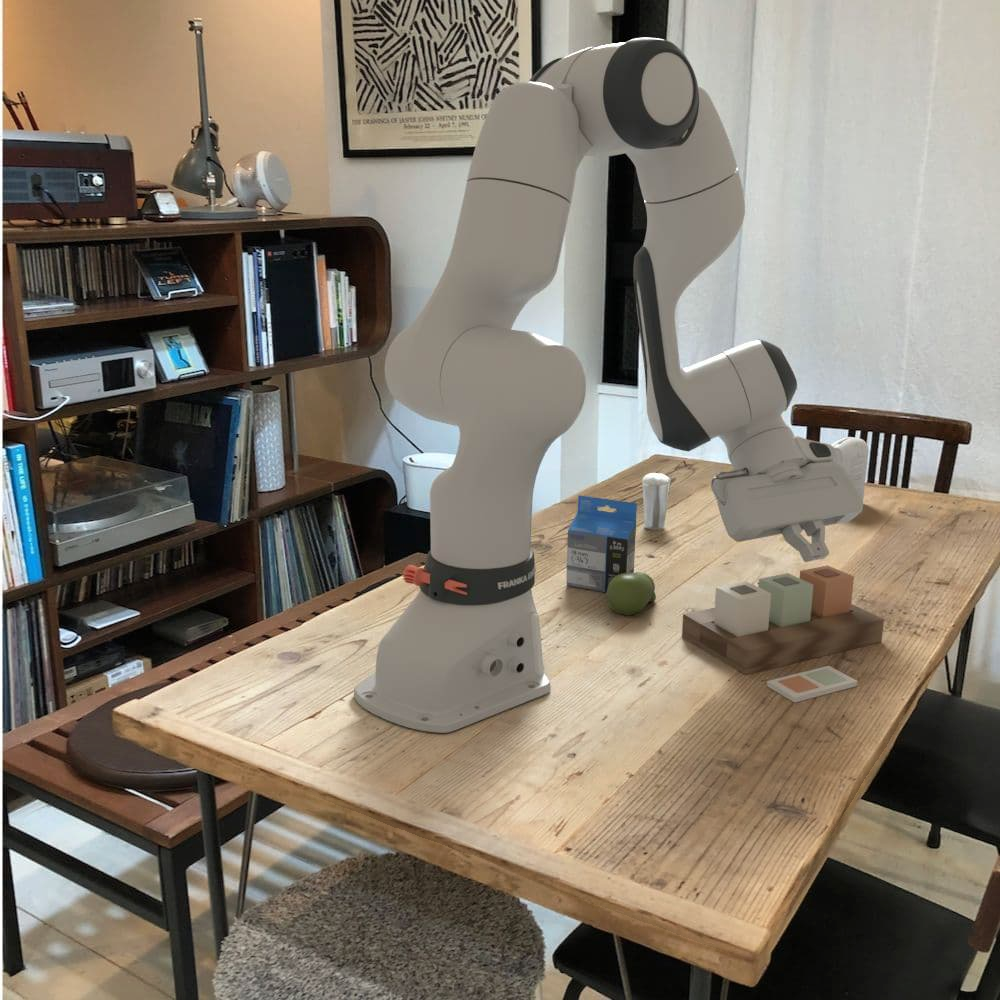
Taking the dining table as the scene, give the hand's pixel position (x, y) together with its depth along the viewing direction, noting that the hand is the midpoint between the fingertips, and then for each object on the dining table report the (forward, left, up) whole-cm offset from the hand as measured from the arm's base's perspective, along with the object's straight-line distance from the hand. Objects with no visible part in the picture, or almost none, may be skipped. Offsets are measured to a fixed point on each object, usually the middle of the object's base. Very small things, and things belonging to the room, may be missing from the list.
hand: (817, 558), depth 128 cm
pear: (-9, +21, -9) cm, 25 cm away
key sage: (-7, +1, -6) cm, 9 cm away
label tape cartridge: (-6, +28, -9) cm, 30 cm away
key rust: (-1, -2, -6) cm, 6 cm away
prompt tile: (-17, -7, -9) cm, 20 cm away
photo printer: (+55, +17, -9) cm, 58 cm away
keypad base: (-7, +1, -9) cm, 11 cm away
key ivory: (-13, +4, -6) cm, 15 cm away
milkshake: (+23, +36, -9) cm, 44 cm away
